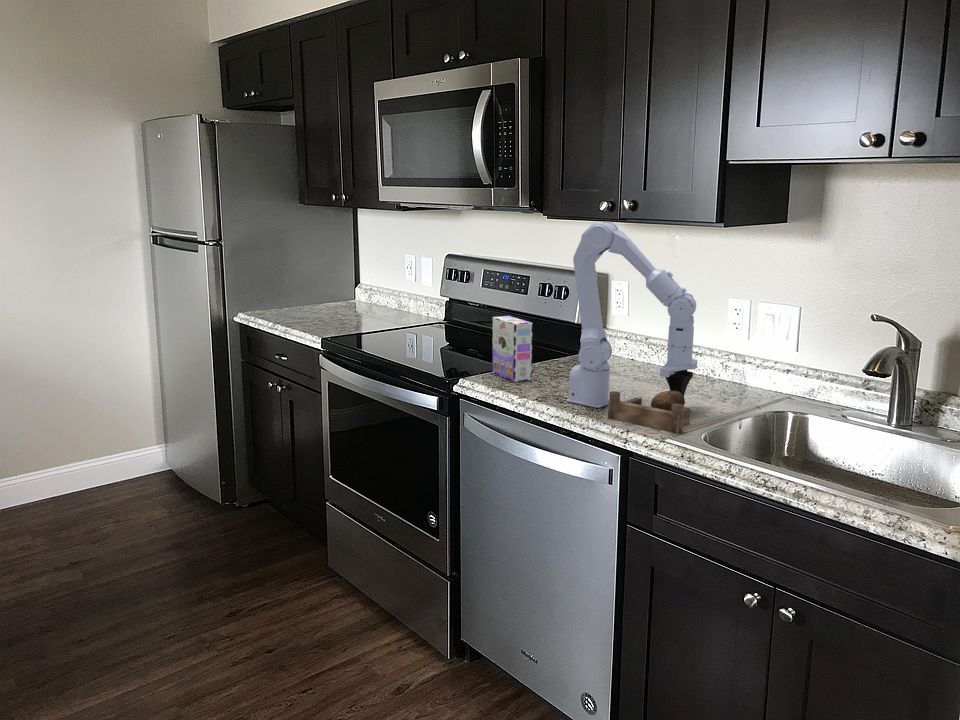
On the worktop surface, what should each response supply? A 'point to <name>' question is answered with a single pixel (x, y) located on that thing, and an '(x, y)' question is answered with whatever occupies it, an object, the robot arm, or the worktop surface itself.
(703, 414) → the worktop surface
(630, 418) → the wooden crate
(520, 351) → the candy box
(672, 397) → the mushroom
